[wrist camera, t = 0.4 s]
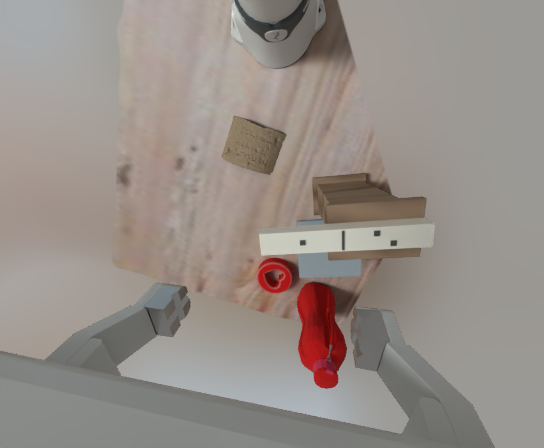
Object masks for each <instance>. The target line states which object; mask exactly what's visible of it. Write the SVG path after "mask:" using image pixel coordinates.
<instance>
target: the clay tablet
mask: <svg viewBox="0 0 544 448" xmlns="http://www.w3.org/2000/svg"><path fill="white" fill-rule="evenodd" d="M285 137H286V135H285V134H283V133H278V131H276V130H274V131H273V130H272V129H268V128H262V127H261V126H258V125H256V124H254V123H251V122H250V121H247V120H246V119H242V118H239V117H235V116H234V117H233V121H232V125H231V128H230V132H229V135H228V138H227V141H226V145H225V148H224V151H223V154H222V158H223V159H224V160H227V161H229V162H231V163H233V164H236V165H238V166H240V167H243V168H244V167H246V168H247V169H250V170H253V171H257V172H260V173H265V174H269V175H270V173H272V172H273V169H274V166H275V164H276V160H277V158H278V155H279V152H280V149H281V147H282V143H283V141H284V139H285Z"/></svg>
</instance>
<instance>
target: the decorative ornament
mask: <svg viewBox="0 0 544 448" xmlns="http://www.w3.org/2000/svg"><path fill="white" fill-rule="evenodd" d="M273 270H280V271H282V272H283V274H281V275H279V281H278V282H273V281H271V280H270V279H269V277H268V275H267V272H270V271H273ZM257 281H258V283H259V285H260V286H261V288H262V289H264V290H265V291H267V292H270V293H281V292H284V291H286V290H287V289H288V288H289V287H290V285H291V283H292V269H291V267H290V265H289V264H288V263H287V262H286V261H284V260H283V259H280V258H269V259H267V260H265V261H263V262H262V263H261V265H260V266H259V269H258V273H257Z"/></svg>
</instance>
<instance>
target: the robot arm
mask: <svg viewBox="0 0 544 448" xmlns="http://www.w3.org/2000/svg"><path fill="white" fill-rule="evenodd" d="M230 2H231V3H232V20H231V33H232V37H233V39H234V40H235V41H237V42H238V43H240V44H241V45H243V46H245V47H246V48H247V50H248V51H249V52H250V54H251V55H252V56H253V58H254V59H255V60H257V61H258V62H259V63H261V64H262V65H264V66H267V67H270V68H282V67H286V66H289V65H291V64H293V63H294V62H296V61H297V60H298V59H299V58H300V57H301V56H302V55H303V54H304V52H305V51H306V50H307V48H308V46H309V44H310V42H311V40H312V38H313V36H314V35H315V33H317V32H318V31H319V30H320V29H321V28H322V26H323V25H324V24H325V21H326V12H325V6H324V1H323V0H230ZM319 10H320V13H318V11H319ZM187 292H188V291H187V288H186V287H185V286H181V285H174V284H167V283H159V282H158V283H155V284H154V285H153V286H152V287H151V288H150V289H149V290H148V291H147V292H146V293H145V294H144V295H143V296H142V297H141V299H140V300H139V301H138V302H137V303H136V304H135V305H134V306H129V307H127V308H125V309H123V310H121V311H119V312H117V313H114V314H112V315H110V316H108V317H106V318H104V319H102V320H100V321H98V322H96V323H94V324H92V325H90V326H88V327H86V328H84V329H82V330H80V331H78V332H76V333H74V334H73V335H72V336H71V337H70V338H68V339H67V340H66V341H65V342H64V343H63V344H62V345H61V346H60V347H58V348H57V349H56V350H55V351H54V352H53V353H52V354H51V355H50V356H49V357H48V358H46V359H45V360H42V359H36V358H32V357H27V356H22V355H18V354H13V353H8V352H3V351H0V448H495V447H494V445H493V443H492V441H491V439H490V437H489V435H488V434H487V432H486V430H485V428H484V426H483V425H482V422H481V420H480V418H479V416H478V414H477V412H476V411H475V409H474V407H473V405H472V404H471V403H470V402H469V401H468V400H467V399H466V398H465V397H464V396H463V395H462V394H461V393H459V392H458V391H457V390H456V389H455V388H454V387H453V386H452V385H451V384H450V383H449V382H448V381H447V380H446V379H445V378H444V377H442V376H441V375H440V374H439V373H438V372H437V371H436V370H435V369H434V368H433V367H432V366H431V365H430V364H429V363H428V362H427V361H426V360H425V359H424V358H422V357H421V356H420V355H419V354H418V353H417V352H416V351H415V350H414V349H413V348H412V347H411V346H409V345H406V344H405V341H404V339H403V336H402V334H401V331H400V328H399V326H398V323H397V320H396V318H395V316H394V312H393V311H392V310H383V309H374V308H365V307H356V306H355V307H354V311H353V315H354V318H353V319H352V321H351V340H352V343H353V344H354V350H353V355H354V361H355V367H356V368H361V369H366V370H372V371H377V373H378V374H379V376H380V378H381V379H382V380H383V382H384V383H385V385H386V386H387V387H388V389H389V390H390V392H391V393H392V395H393V396H394V397H395V399H396V400H397V402H398V403H399V405H400V406H401V407H402V409H403V410H404V412H405V413H406V414H407V416H408V417H409V421H408V423H407V425H406V427H405V429H404V431H403V433H402V434H398V433H393V432H389V431H383V430H379V429H374V428H369V427H364V426H360V425H355V424H350V423H345V422H340V421H335V420H330V419H325V418H321V417H316V416H311V415H306V414H302V413H296V412H292V411H287V410H282V409H277V408H273V407H268V406H263V405H258V404H254V403H249V402H244V401H239V400H234V399H230V398H225V397H220V396H215V395H210V394H205V393H201V392H195V391H191V390H186V389H181V388H176V387H172V386H167V385H162V384H157V383H152V382H147V381H143V380H138V379H133V378H128V377H123V376H121V374H120V372H119V370H118V368H117V365H118V364H120V363H121V362H122V361H124V360H125V359H127V358H128V357H129V356H130V355H132V354H133V353H134V352H136V351H137V350H139V349H140V348H141V347H143V346H144V345H145V344H146V343H148V342H149V341H150V340H152V339H153V338H155V337H156V335H160V336H168V337H173V336H174V334H175V333H176V331H177V330H178V328H179V327H180V321H181V320H183V319H184V318H185V317H186V316H187V314H188V312H189V309H190V299H189V298H188V297H187V295H186V294H187Z"/></svg>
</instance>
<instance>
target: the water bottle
mask: <svg viewBox="0 0 544 448" xmlns="http://www.w3.org/2000/svg"><path fill="white" fill-rule="evenodd" d="M335 305H336V304H335V298H334V294H333V292H332V291H331V289H329V288H328V287H326V286H324V285H320V284H317V283H307V284H305V285H304V287H303V288H302V289H301V291H300V294H299V296H298V300H297V308H298V312H299V315H300V318H301V321H302V324H303V326H302V332H301V336H300V340H299V345H298V351H299V354H300V358H301V362H302V364H303V365H304V366H305V367H306V368H308V369H309V370H311V371H312V372H314V381H315V383H316V384H317V385H318V386H319V387H321V388H326V389H327V388H333V387H335V386H336V385H337V383H338V375H337V371H338V370H339V368H340V366H341V364H342V363H343V361H344V359H345V357H346V351H347V347H346V344H345V339H344V336H343V334H342V332H341V330H340V329H339V327H338V325H337V324H336V322H335V318H334V317H335Z"/></svg>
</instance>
